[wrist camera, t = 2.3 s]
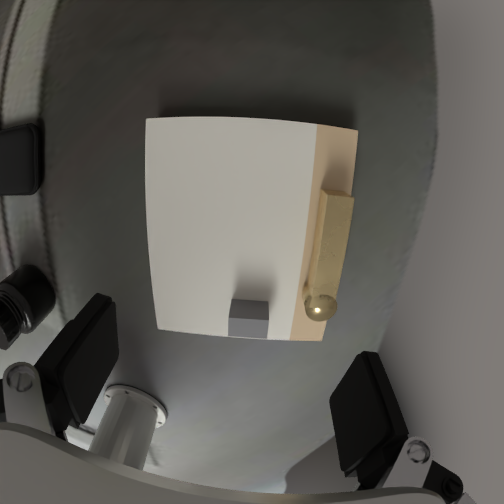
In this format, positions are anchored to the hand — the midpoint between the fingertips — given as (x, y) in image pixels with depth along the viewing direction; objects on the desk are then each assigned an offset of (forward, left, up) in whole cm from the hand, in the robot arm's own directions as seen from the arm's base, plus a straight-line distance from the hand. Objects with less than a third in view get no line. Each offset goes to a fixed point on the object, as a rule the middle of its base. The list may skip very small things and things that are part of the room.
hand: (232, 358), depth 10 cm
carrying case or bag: (+7, +34, -22) cm, 42 cm away
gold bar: (-3, -8, -18) cm, 20 cm away
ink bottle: (-14, +33, -22) cm, 42 cm away
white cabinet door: (-3, -1, -22) cm, 22 cm away
